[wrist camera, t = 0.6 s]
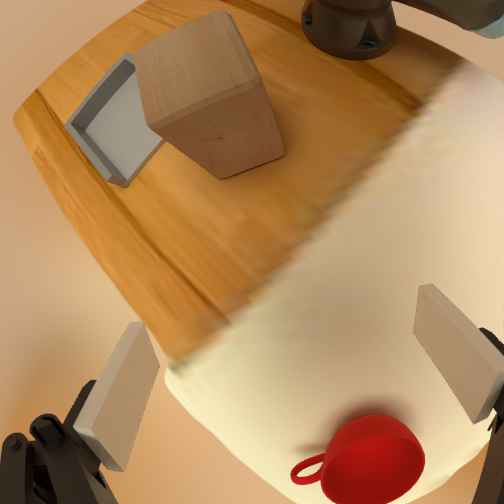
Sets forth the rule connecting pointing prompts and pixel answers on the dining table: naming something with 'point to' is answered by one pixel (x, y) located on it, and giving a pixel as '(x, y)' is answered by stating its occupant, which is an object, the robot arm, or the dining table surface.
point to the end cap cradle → (115, 125)
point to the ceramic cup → (367, 462)
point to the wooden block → (208, 96)
